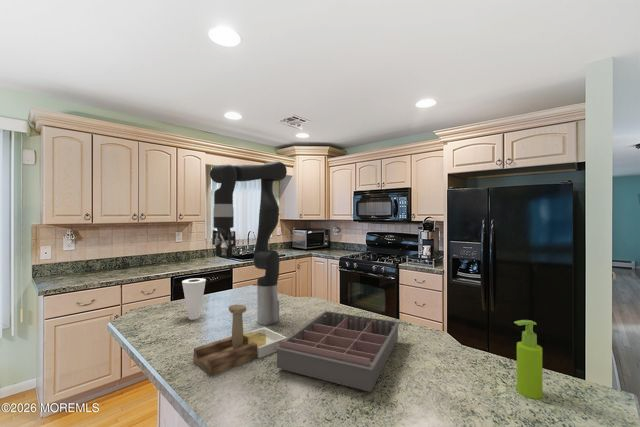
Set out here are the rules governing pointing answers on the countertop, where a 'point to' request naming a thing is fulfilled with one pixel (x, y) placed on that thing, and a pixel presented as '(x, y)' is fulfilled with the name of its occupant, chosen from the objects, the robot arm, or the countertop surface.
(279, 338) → the tray
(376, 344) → the organizer tray
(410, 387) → the countertop surface
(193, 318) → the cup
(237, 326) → the handle
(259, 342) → the golden brown cube
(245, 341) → the chip
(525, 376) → the soap dispenser
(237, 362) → the slot board
